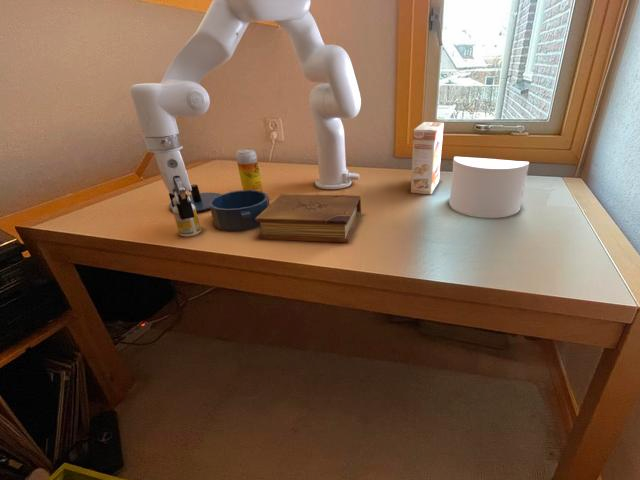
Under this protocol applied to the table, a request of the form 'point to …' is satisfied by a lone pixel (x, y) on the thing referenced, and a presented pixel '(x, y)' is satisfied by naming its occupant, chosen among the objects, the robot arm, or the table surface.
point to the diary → (310, 218)
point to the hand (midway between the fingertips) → (183, 212)
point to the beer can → (249, 169)
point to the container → (487, 186)
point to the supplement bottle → (186, 222)
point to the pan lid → (199, 199)
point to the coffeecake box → (426, 157)
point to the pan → (238, 209)
